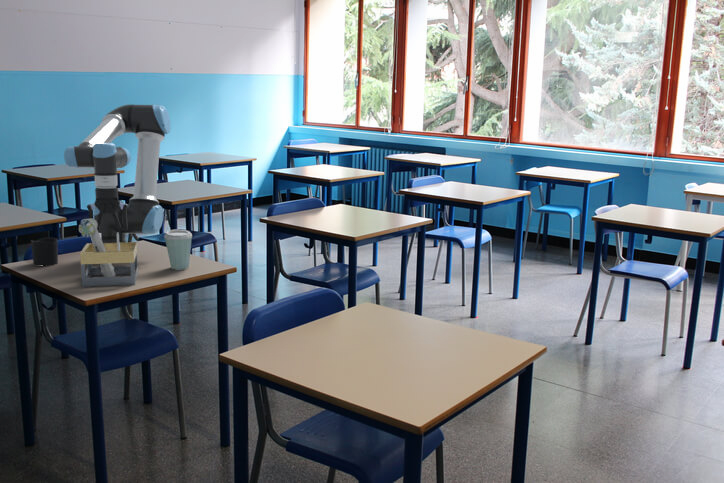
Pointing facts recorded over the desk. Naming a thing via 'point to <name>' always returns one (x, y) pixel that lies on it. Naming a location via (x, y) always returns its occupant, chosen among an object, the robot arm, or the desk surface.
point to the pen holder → (45, 251)
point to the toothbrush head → (96, 242)
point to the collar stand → (110, 256)
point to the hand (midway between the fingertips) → (109, 251)
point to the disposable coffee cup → (178, 248)
